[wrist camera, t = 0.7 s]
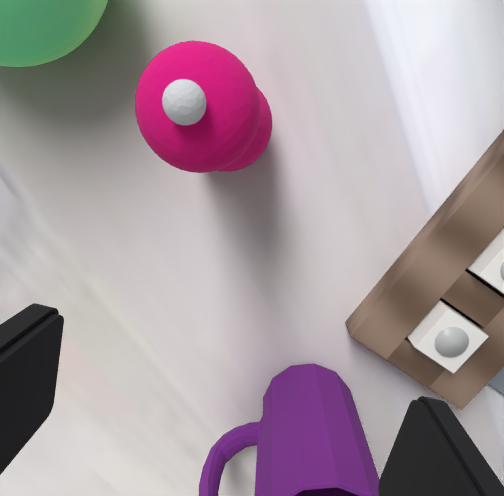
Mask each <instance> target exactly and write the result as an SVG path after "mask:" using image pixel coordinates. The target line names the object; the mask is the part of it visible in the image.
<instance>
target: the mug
mask: <svg viewBox="0 0 504 496" xmlns="http://www.w3.org/2000/svg"><path fill="white" fill-rule="evenodd" d="M254 445H257V463H256V482H255V496H379V491H378V488H379V481H380V480H379V477H378V474H377V471H376V468H375V465H374V462H373V459H372V456H371V453H370V450H369V447H368V444H367V440H366V437H365V434H364V431H363V428H362V425H361V422H360V419H359V416H358V413H357V410H356V407H355V404H354V401H353V398H352V395H351V391H350V389H349V388H348V387H347V385H346V384H345V383H344V382H343V381H342V379H341V378H340V377H339V376H338V374H337V373H336V372H334V371H332V370H329V369H327V368H324V367H321V366H319V365H316V364H306V365H297V366H290V367H289V368H287V369H286V370H284V371H283V372H281V373H280V374H278V375H277V376H275V377H274V378H273V379H272V381H271V383H270V385H269V387H268V389H267V391H266V393H265V395H264V397H263V416H262V418H261V421H260V422H253V423H248V424H245V425H242V426H239V427H236V428H234V429H232V430H231V431H229V432H227V433H226V434H224V435H223V436H222V437H221V438H220V439H219V440H218V441H217V443H216V444H215V445H214V446H213V447H212V448H211V450H210V452H209V455H208V457H207V459H206V462H205V464H204V466H203V470H202V474H201V479H200V484H199V496H218V490H219V485H220V480H221V475H222V472H223V469H224V467H225V464H226V463H227V462H228V461H229V460H230V459H231V458H232V457H233V456H234V455H235V454H236V453H238V452H239V451H241V450H242V449H244V448H246V447H249V446H254Z"/></svg>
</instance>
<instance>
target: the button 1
mask: <svg viewBox="0 0 504 496" xmlns="http://www.w3.org/2000/svg"><path fill="white" fill-rule="evenodd" d="M407 337H408V339H409V340H410V342H411V343H412V344H413V346H414V347H415V348H417V349H418V350H420V351H421V352H422V353H424V354H425V355H427V356H428V357H430V358H431V359H433V360H434V361H436V362H437V363H439V364H440V365H442V366H443V367H445V368H446V369H448V370H449V371H451V372H452V373H455V372H456V371H457V370H458V369H459V367H460V366H461V365H462V364H463V363H464V362H465V361H466V360H467V359H468V358H469V357H470V356H471V355H472V354H473V353H474V352H475V351H476V349H477V348H478V347H479V346H480V345H481V344H482V343H483V342H484V341H485V340H486V339H487V338H488V337H489V336H488V335H487V334H485V333H484V332H483V331H482V330H481V329H480V328H479V327H477V326H476V325H475V324H474V323H473V322H472V321H470V320H469V319H467V318H466V317H464V316H463V315H462V314H460V313H459V312H457V311H456V310H454V309H453V308H452V307H450V306H449V305H447V304H446V303H444V302H443V301H442V300H440V299H439V300H438V301H437V303H436V304H435V305H434V306H433V307H432V308H431V309H430V310H429V312H428V313H427V314H426V315H425V316H424V317H423V318H422V320H421V321H420V322H419V323H418V324H417V325H416V326H415V328H414V329H413V330H412V331H411V332H410V333H409V334H408V335H407Z"/></svg>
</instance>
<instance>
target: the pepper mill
mask: <svg viewBox="0 0 504 496" xmlns="http://www.w3.org/2000/svg"><path fill="white" fill-rule="evenodd" d="M135 111H136V117H137V122H138V125H139V128H140V131H141V133H142V135H143V137H144V138H145V140H146V142H147V143H148V145H149V146H150V147H151V148H152V150H153V151H154V152H155V153H156V154H157V155H158V156H159V157H160V158H161V159H162V160H164V161H166V162H167V163H169V164H170V165H172V166H174V167H176V168H179V169H181V170H185V171H189V172H198V173H204V172H212V171H216V170H218V171H235V170H239V169H242V168H245V167H247V166H248V165H250V164H252V163H253V162H254V161H256V160H257V159H258V158H259V157H260V155H261V154H262V153H263V152H264V150H265V148H266V146H267V145H268V142H269V139H270V136H271V131H272V115H271V111H270V107H269V105H268V102H267V100H266V98H265V97H264V95H263V93H262V92H261V91H260V90H259V89H258V88H257V87H256V84H255V82H254V80H253V77H252V75H251V74H250V73H249V71H248V70H247V68H246V67H245V66H244V64H243V63H242V62H241V61H240V60H239V59H238V58H237V57H236V56H235V55H233V54H232V53H230V52H229V51H228V50H226V49H224V48H222V47H220V46H218V45H215V44H211V43H207V42H201V41H187V42H181V43H178V44H175V45H172V46H170V47H168V48H166V49H165V50H163V51H161V52H160V53H159V54H158V55H157V56H156V57H155V58H154V59H153V60H152V61H151V62H150V63H149V64H148V66H147V67H146V68H145V70H144V72H143V74H142V75H141V77H140V79H139V83H138V86H137V91H136V96H135Z"/></svg>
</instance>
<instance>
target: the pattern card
mask: <svg viewBox="0 0 504 496" xmlns="http://www.w3.org/2000/svg"><path fill="white" fill-rule="evenodd" d="M487 384H489V385H490V386H492V387H493V388H495V389H496V390H498V391H499V392H501V393H502V394H504V367H503V368H502V369H501V370H500V371H499V372H498V373H497V374H496V375H495V376H494V377H493V378H492V379H491V380H490V381H489V382H488V383H487Z"/></svg>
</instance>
